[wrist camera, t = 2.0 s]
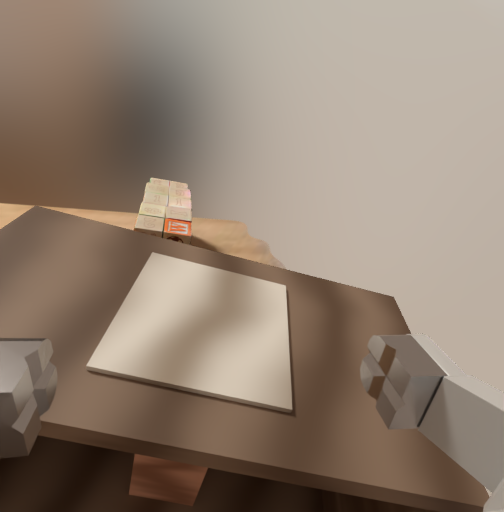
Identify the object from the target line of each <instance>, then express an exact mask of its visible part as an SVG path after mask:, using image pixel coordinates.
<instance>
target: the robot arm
mask: <svg viewBox="0 0 504 512" xmlns="http://www.w3.org/2000/svg"><path fill="white" fill-rule="evenodd" d="M367 347H368V350H369V352H370V353H369V354H368V355H367V356H366V357H364V358H363V360H362V364H361V367H360V375H361V381H362V384H363V387H364V388H365V390H366V392H367V394H369V395H370V396H371V397H373V398H374V399H376V400H377V401H376V407H375V408H376V409H377V411H378V413H379V414H380V416H381V418H382V419H383V421H384V423H385V425H386V426H387V428H388V430H389V429H414V428H419V429H418V430H419V431H420V432H421V433H422V434H423V435H424V436H426V437H427V438H428V439H429V440H430V441H432V442H433V443H434V444H435V445H436V446H437V447H439V448H440V449H441V450H442V451H443V452H445V453H446V454H447V455H448V456H449V457H450V458H452V459H453V460H454V461H455V462H456V463H457V464H459V465H460V466H461V467H462V468H463V469H465V470H466V471H467V472H468V473H469V474H470V475H472V476H473V477H474V478H475V479H476V480H478V481H479V482H480V483H481V484H482V485H483V486H485V487H486V488H487V489H488V490H489V491H491V492H492V495H491V496H490V497H489V499H488V500H487V502H486V503H485V504H484V508H483V512H504V392H502V391H500V390H498V389H497V388H495V387H493V386H491V385H489V384H487V383H485V382H483V381H482V380H480V379H478V378H476V377H474V376H467V375H466V374H465V373H464V372H463V371H462V370H461V369H460V368H459V367H458V366H457V365H456V364H455V363H454V362H453V361H452V360H451V359H450V358H449V357H448V356H447V355H446V354H445V353H444V352H443V351H442V349H441V348H440V347H438V345H437V344H436V343H435V342H434V341H433V340H432V339H431V338H430V337H429V336H427V335H425V334H406V335H373V336H372V337H371V338H370V340H369V343H368V345H367ZM52 354H53V348H52V343H51V341H50V340H49V339H47V338H0V458H10V457H20V456H29V453H30V451H31V449H32V447H33V445H34V442H35V440H36V438H37V436H38V434H39V431H40V429H41V427H42V426H41V421H40V416H41V415H43V414H44V413H45V412H46V411H48V410H49V409H50V407H51V404H52V402H53V400H54V397H55V392H56V388H57V370H56V367H55V366H54V365H53V364H52V363H51V362H50V361H49V360H50V358H51V356H52Z"/></svg>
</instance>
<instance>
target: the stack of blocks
mask: <svg viewBox="0 0 504 512" xmlns="http://www.w3.org/2000/svg"><path fill="white" fill-rule="evenodd" d="M191 210H192V206H191V192H190V190H188V185H187V184H184V183H179V182H174V181H167V180H162V179H156V178H150V183H147V184H146V188H145V193H144V199H143V202H142V203H141V206H140V210H139V214H138V216H137V219H136V223H135V226H134V231H137V232H141V233H145V234H149V235H153V236H156V237H160V238H164V239H168V240H172V241H176V242H180V243H184V244H188V245H190V240H191V222H192V217H191Z"/></svg>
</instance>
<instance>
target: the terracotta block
mask: <svg viewBox="0 0 504 512" xmlns="http://www.w3.org/2000/svg"><path fill="white" fill-rule="evenodd" d="M207 469H208V468H207V467H202V466H197V465H191V464H186V463H181V462H176V461H170V460H165V459H160V458H155V457H150V456H144V455H139V454H135V455H134V462H133V469H132V476H131V482H130V489H129V495H134V496H140V497H145V498H151V499H156V500H162V501H168V502H173V503H179V504H184V505H190V506H193V504H194V502H195V499H196V497H197V494H198V492H199V489H200V487H201V484H202V482H203V479H204V477H205V474H206V472H207Z"/></svg>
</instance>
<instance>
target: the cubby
mask: <svg viewBox="0 0 504 512" xmlns="http://www.w3.org/2000/svg"><path fill="white" fill-rule="evenodd" d="M406 334H411V333H410V330H409V329H408V326H407V324H406V322H405V320H404V318H403V316H402V314H401V311H400V309H399V307H398V305H397V303H396V301H395V299H394V297H391V296H388V295H383V294H380V293H376V292H372V291H368V290H364V289H360V288H356V287H352V286H349V285H344V284H341V283H337V282H333V281H329V280H325V279H321V278H317V277H313V276H309V275H305V274H301V273H297V272H294V271H290V270H286V269H282V268H278V267H274V266H270V265H266V264H262V263H258V262H254V261H251V260H247V259H243V258H239V257H235V256H231V255H227V254H223V253H219V252H215V251H211V250H207V249H203V248H200V247H196V246H192V245H188V244H184V243H180V242H176V241H172V240H168V239H164V238H160V237H156V236H153V235H149V234H145V233H141V232H137V231H133V230H129V229H125V228H121V227H117V226H113V225H109V224H105V223H102V222H98V221H94V220H90V219H86V218H82V217H78V216H74V215H70V214H66V213H62V212H58V211H55V210H51V209H47V208H43V207H39V206H34V207H33V208H31V209H30V210H28V211H27V212H26V213H24V214H23V215H21V216H20V217H18V218H17V219H15V220H14V221H12V222H11V223H9V224H8V225H6V226H5V227H3V228H2V229H0V338H47V339H49V340H50V341H51V343H52V348H53V354H52V356H51V358H50V360H49V361H50V362H51V363H52V364H53V365H54V366H55V367H56V370H57V388H56V392H55V397H54V400H53V402H52V404H51V407H50V409H49V410H48V411H46V412H45V413H44V414H43V415H41V416H40V421H41V426H42V427H41V429H40V431H39V434H38V436H37V438H36V440H35V442H34V445H33V447H32V449H31V451H30V453H29V456H20V457H10V458H0V512H483V508H484V504H485V503H486V502H487V500H488V499H489V495H488V493H487V491H486V489H485V487H484V486H483V485H482V484H481V483H480V482H479V481H478V480H476V479H475V478H474V477H473V476H472V475H470V474H469V473H468V472H467V471H466V470H465V469H463V468H462V467H461V466H460V465H459V464H457V463H456V462H455V461H454V460H453V459H452V458H450V457H449V456H448V455H447V454H446V453H445V452H443V451H442V450H441V449H440V448H439V447H437V446H436V445H435V444H434V443H433V442H432V441H430V440H429V439H428V438H427V437H426V436H424V435H423V434H422V433H421V432H420V431H419V430H418V429H419V428H414V429H389V430H388V428H387V426H386V425H385V423H384V421H383V419H382V418H381V416H380V414H379V413H378V411H377V409H376V408H375V407H376V401H377V400H376V399H374V398H373V397H371V396H370V395H369V394H367V392H366V390H365V388H364V387H363V384H362V381H361V375H360V367H361V364H362V360H363V358H364V357H366V356H367V355H368V354H369V353H370V352H369V350H368V347H367V345H368V343H369V340H370V338H371V337H372V336H373V335H406ZM135 454H139V455H144V456H150V457H155V458H160V459H165V460H170V461H176V462H181V463H186V464H191V465H197V466H202V467H207V468H208V469H207V472H206V474H205V477H204V479H203V482H202V484H201V487H200V489H199V492H198V494H197V497H196V499H195V502H194V504H193V506H190V505H184V504H179V503H173V502H168V501H162V500H156V499H151V498H145V497H140V496H134V495H129V489H130V482H131V476H132V469H133V462H134V455H135Z"/></svg>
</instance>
